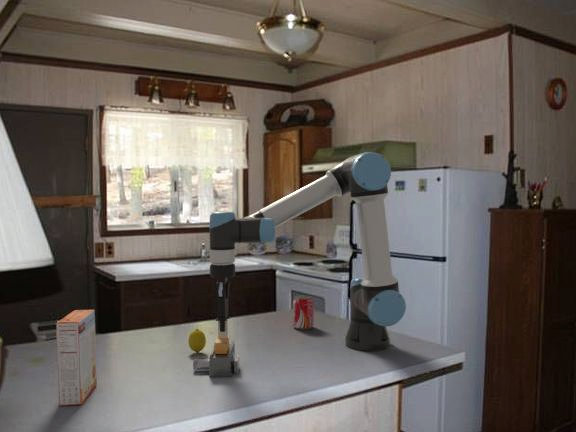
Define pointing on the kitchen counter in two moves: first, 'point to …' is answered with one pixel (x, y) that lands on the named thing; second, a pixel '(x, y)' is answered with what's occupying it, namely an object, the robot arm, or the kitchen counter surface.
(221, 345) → the block
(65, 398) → the cracker box
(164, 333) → the kitchen counter surface
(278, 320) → the kitchen counter surface
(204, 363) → the pin
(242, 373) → the kitchen counter surface
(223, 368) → the block
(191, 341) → the lemon
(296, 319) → the beverage can
